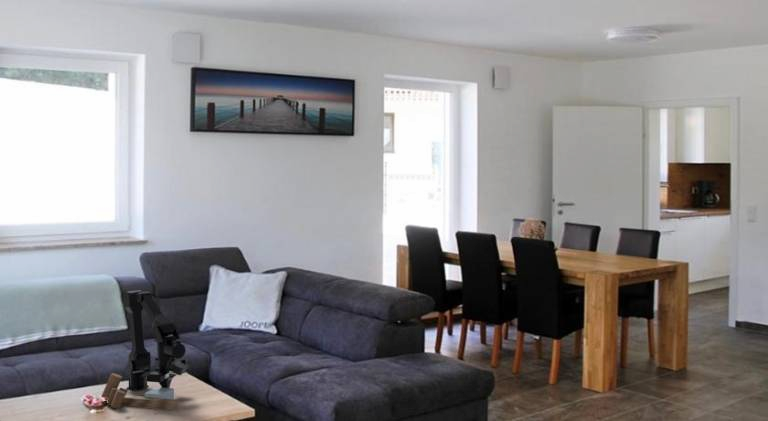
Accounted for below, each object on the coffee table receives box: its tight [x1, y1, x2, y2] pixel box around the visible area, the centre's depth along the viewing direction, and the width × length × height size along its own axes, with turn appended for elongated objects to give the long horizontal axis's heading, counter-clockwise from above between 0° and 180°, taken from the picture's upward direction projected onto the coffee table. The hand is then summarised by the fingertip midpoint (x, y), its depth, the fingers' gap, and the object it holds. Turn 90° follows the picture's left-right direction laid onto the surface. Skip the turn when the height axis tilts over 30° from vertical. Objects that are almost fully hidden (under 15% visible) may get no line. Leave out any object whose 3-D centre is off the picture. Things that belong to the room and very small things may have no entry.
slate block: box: [144, 386, 175, 400], centre depth 303 cm, size 7×9×4 cm
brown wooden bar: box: [121, 394, 178, 411], centre depth 297 cm, size 22×3×3 cm, turn 73°
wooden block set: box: [100, 372, 129, 410], centre depth 302 cm, size 18×9×10 cm, turn 17°
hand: (166, 393), depth 309 cm, fingers closed
